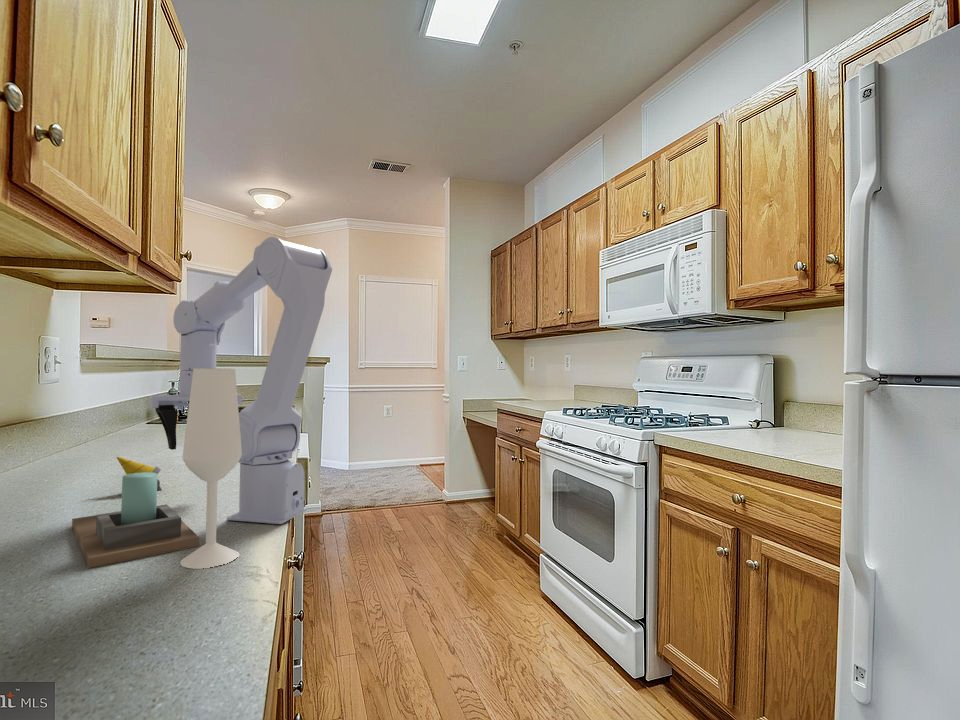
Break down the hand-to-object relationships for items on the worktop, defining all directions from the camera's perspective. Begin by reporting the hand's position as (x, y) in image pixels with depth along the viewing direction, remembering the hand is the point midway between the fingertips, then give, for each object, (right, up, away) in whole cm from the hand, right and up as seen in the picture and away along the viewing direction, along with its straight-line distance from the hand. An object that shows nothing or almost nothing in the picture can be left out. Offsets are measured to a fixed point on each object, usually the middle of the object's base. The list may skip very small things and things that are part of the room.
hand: (196, 446), depth 94 cm
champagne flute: (+16, -10, -27) cm, 33 cm away
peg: (+4, -8, -22) cm, 24 cm away
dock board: (+2, -9, -20) cm, 22 cm away
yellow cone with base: (-13, -9, +4) cm, 16 cm away
